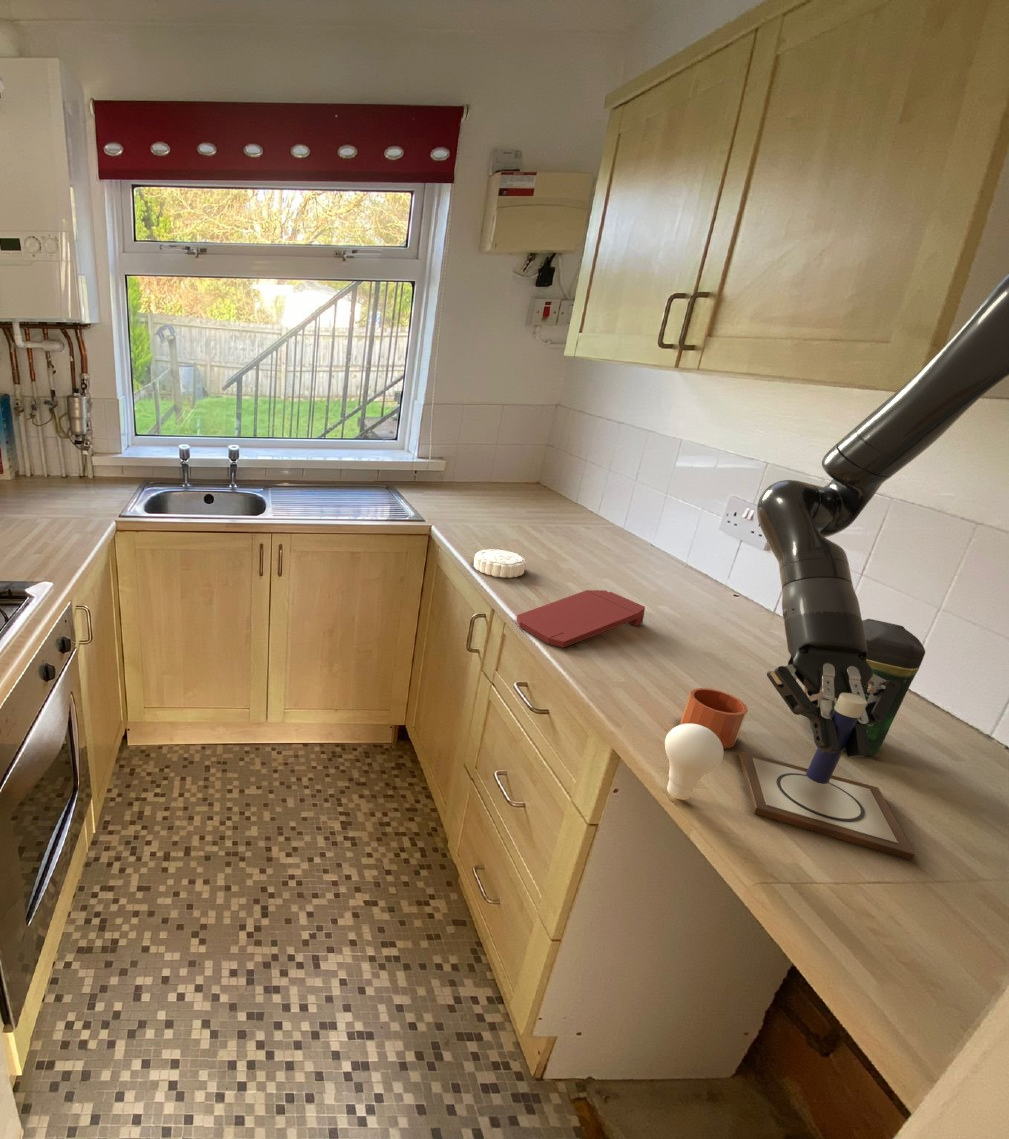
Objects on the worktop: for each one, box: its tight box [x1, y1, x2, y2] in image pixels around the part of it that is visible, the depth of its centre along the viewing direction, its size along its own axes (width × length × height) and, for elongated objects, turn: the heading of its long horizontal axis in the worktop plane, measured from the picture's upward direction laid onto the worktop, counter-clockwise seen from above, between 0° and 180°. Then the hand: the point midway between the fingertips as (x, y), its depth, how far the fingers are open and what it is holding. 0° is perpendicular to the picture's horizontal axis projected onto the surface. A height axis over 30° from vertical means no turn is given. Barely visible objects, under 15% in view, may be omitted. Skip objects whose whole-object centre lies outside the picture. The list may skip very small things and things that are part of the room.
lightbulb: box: [664, 724, 725, 801], centre depth 80 cm, size 6×6×11 cm
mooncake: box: [473, 548, 527, 579], centre depth 157 cm, size 12×12×4 cm
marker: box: [806, 693, 867, 784], centre depth 77 cm, size 2×2×12 cm
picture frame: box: [738, 751, 916, 861], centre depth 81 cm, size 15×13×1 cm
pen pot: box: [679, 687, 749, 750], centre depth 94 cm, size 7×7×6 cm
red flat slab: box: [516, 589, 646, 648], centre depth 128 cm, size 12×5×25 cm
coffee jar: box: [809, 618, 926, 756], centre depth 91 cm, size 10×8×19 cm
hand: (843, 753), depth 75 cm, fingers closed on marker, 2 cm apart
